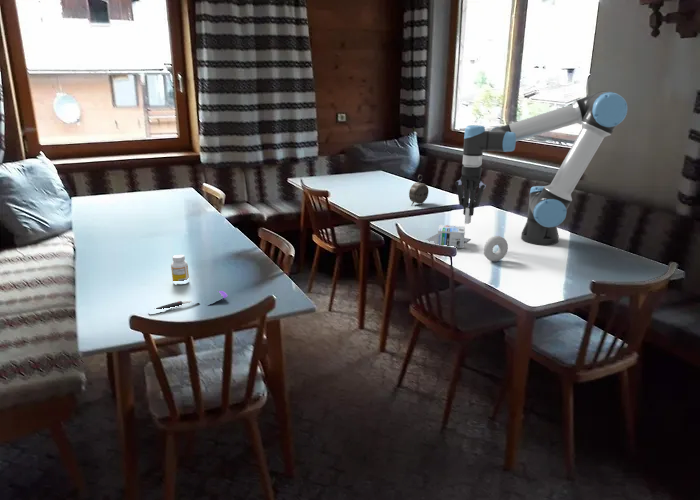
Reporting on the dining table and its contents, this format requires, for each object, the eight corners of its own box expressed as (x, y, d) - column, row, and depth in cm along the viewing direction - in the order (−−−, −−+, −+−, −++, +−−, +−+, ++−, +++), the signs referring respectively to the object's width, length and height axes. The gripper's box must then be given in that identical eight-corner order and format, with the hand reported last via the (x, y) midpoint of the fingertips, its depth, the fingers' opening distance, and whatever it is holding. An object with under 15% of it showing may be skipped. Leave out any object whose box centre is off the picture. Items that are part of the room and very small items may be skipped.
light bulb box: (465, 232, 224) (437, 230, 226) (463, 248, 226) (436, 246, 228) (464, 226, 234) (438, 224, 236) (463, 241, 236) (437, 239, 238)
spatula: (150, 319, 165) (150, 312, 165) (146, 311, 171) (145, 303, 170) (229, 303, 177) (228, 295, 176) (222, 295, 182) (222, 288, 182)
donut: (503, 258, 216) (505, 233, 212) (508, 261, 212) (510, 236, 209) (480, 261, 213) (482, 236, 209) (485, 264, 209) (487, 238, 206)
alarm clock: (422, 202, 302) (423, 172, 297) (429, 204, 298) (431, 174, 293) (408, 205, 295) (409, 175, 290) (415, 207, 291) (416, 176, 286)
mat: (470, 239, 238) (470, 238, 238) (453, 249, 226) (453, 248, 226) (438, 233, 247) (438, 233, 247) (421, 242, 235) (421, 241, 234)
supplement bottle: (179, 279, 195) (176, 252, 192) (192, 281, 193) (189, 254, 190) (169, 284, 191) (166, 257, 187) (182, 286, 189) (179, 259, 186)
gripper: (491, 165, 220) (486, 223, 228) (460, 162, 227) (457, 218, 235) (483, 168, 214) (478, 227, 222) (452, 165, 221) (449, 222, 229)
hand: (467, 222), depth 228 cm, fingers closed
